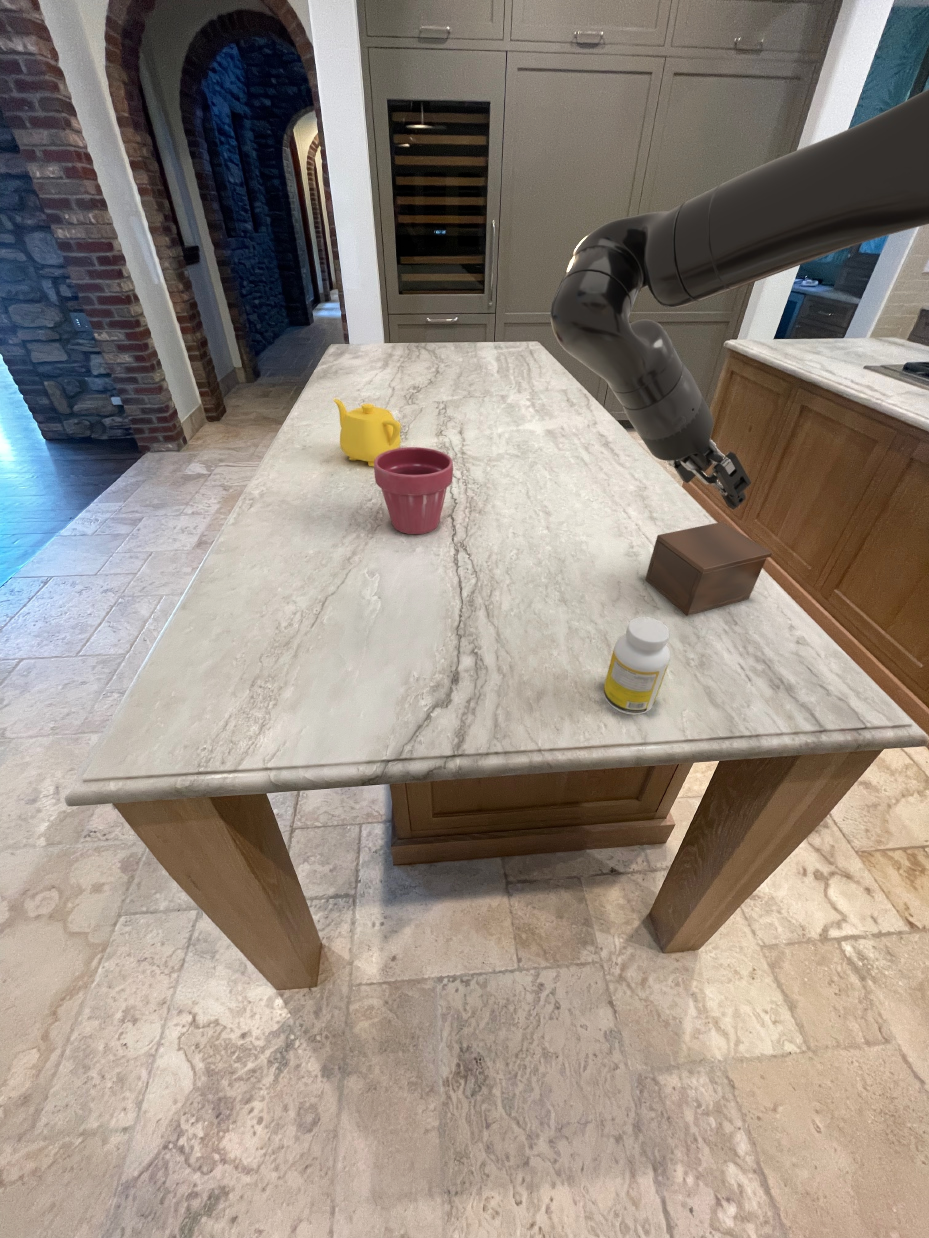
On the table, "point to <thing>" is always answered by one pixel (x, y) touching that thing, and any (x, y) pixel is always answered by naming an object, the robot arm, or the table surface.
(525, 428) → the table surface
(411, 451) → the flower pot
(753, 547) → the lid
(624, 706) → the pill bottle
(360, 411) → the teapot
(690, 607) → the box
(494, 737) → the table surface
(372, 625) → the table surface
